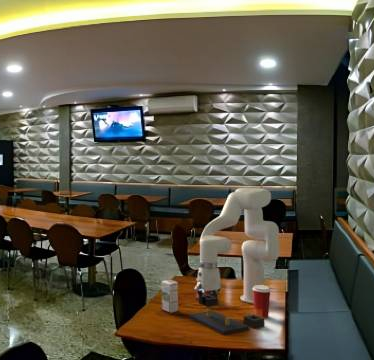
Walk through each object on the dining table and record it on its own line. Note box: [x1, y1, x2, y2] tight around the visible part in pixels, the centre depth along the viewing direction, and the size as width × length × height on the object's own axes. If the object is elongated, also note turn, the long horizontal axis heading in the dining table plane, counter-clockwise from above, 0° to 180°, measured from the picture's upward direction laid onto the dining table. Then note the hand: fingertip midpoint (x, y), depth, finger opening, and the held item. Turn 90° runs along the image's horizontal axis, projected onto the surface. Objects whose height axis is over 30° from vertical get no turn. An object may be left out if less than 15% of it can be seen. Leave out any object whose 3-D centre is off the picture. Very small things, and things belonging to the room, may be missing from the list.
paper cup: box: [253, 285, 272, 319], centre depth 209 cm, size 8×8×14 cm
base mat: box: [188, 308, 250, 336], centre depth 201 cm, size 14×22×4 cm, turn 21°
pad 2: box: [243, 314, 265, 329], centre depth 198 cm, size 6×6×4 cm
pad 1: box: [198, 295, 219, 308], centre depth 206 cm, size 6×6×4 cm
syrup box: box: [161, 279, 179, 314], centre depth 219 cm, size 6×6×14 cm
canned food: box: [195, 277, 212, 301], centre depth 235 cm, size 8×8×11 cm
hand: (208, 303), depth 206 cm, fingers closed on pad 1, 6 cm apart
